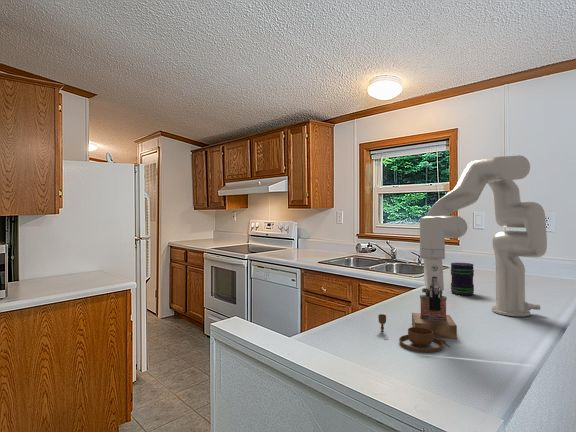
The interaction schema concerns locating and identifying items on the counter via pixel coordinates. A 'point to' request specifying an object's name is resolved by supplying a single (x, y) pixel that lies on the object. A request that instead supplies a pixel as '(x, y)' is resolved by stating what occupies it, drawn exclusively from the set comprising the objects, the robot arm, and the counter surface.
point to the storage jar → (462, 279)
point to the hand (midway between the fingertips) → (432, 306)
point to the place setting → (417, 338)
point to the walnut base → (436, 326)
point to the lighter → (430, 314)
